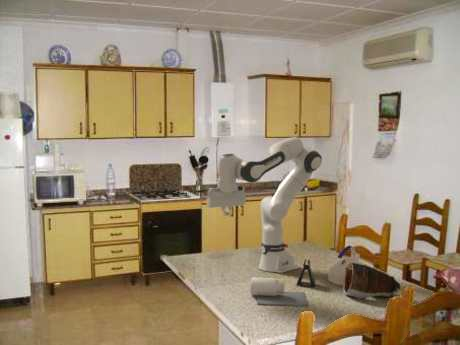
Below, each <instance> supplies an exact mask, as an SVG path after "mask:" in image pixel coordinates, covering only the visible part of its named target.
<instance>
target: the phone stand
mask: <svg viewBox="0 0 460 345" xmlns="http://www.w3.org/2000/svg"><path fill="white" fill-rule="evenodd" d="M306 270H307V273H308V277H309V281H302V280H303V277H304V274H305V271H306ZM296 281H297V282H296V286H297V287H307V288H315V287H316V279H315V276H314V273H313V271H312V268H311V261H310V259H308V260H307V259H304V261H303V266H302V270H301V272H300V274H299V276H298V279H297V280H296Z"/></svg>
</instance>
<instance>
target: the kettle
mask: <svg viewBox="0 0 460 345" xmlns="http://www.w3.org/2000/svg"><path fill="white" fill-rule="evenodd" d="M349 250H351V251H350V252H351V255H350V257H348V256H347V257H344V256H345V254H346V252H347V251H349ZM337 258H338V259H337V260H334V262H333V263H332V264H331V266H330V267H329V270H328V275H327V280H328V281H329V282H330V283H332V284H335V285H337V286H342V287H344V278H345V268H346V266H347V264H348V263H350V262H351V263H357V264H362V265H364V264H363V263H362V262H361V261H360V259H361V255H360V253H357V252H356V248H355V247H354V246H353V245H346V246H345V247H344V248H343V249H342V250H341V251H340V252H339V254H338V256H337Z"/></svg>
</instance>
